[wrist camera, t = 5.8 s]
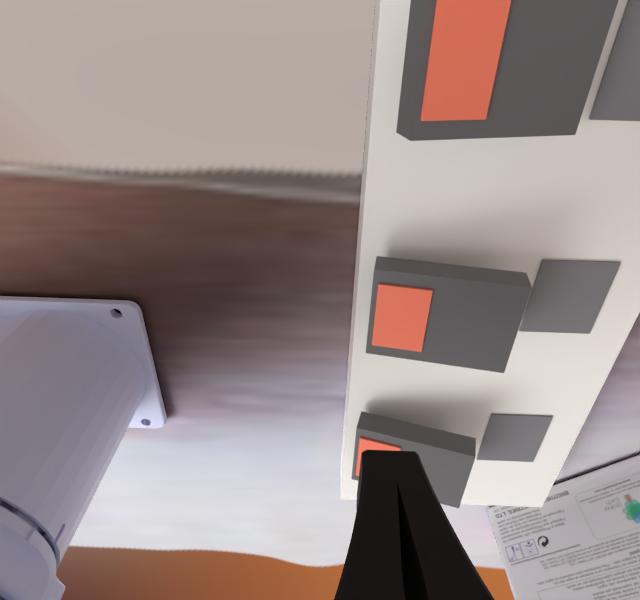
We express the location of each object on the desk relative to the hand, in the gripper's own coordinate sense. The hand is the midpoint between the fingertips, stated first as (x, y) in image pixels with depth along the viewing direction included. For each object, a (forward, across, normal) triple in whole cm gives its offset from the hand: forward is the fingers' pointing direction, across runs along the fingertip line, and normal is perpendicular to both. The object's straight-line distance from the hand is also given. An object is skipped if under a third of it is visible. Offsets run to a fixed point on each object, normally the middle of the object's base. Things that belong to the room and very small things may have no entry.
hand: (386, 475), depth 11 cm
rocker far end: (+6, -2, +7) cm, 10 cm away
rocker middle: (+6, -2, -1) cm, 7 cm away
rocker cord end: (+6, -2, -9) cm, 11 cm away
